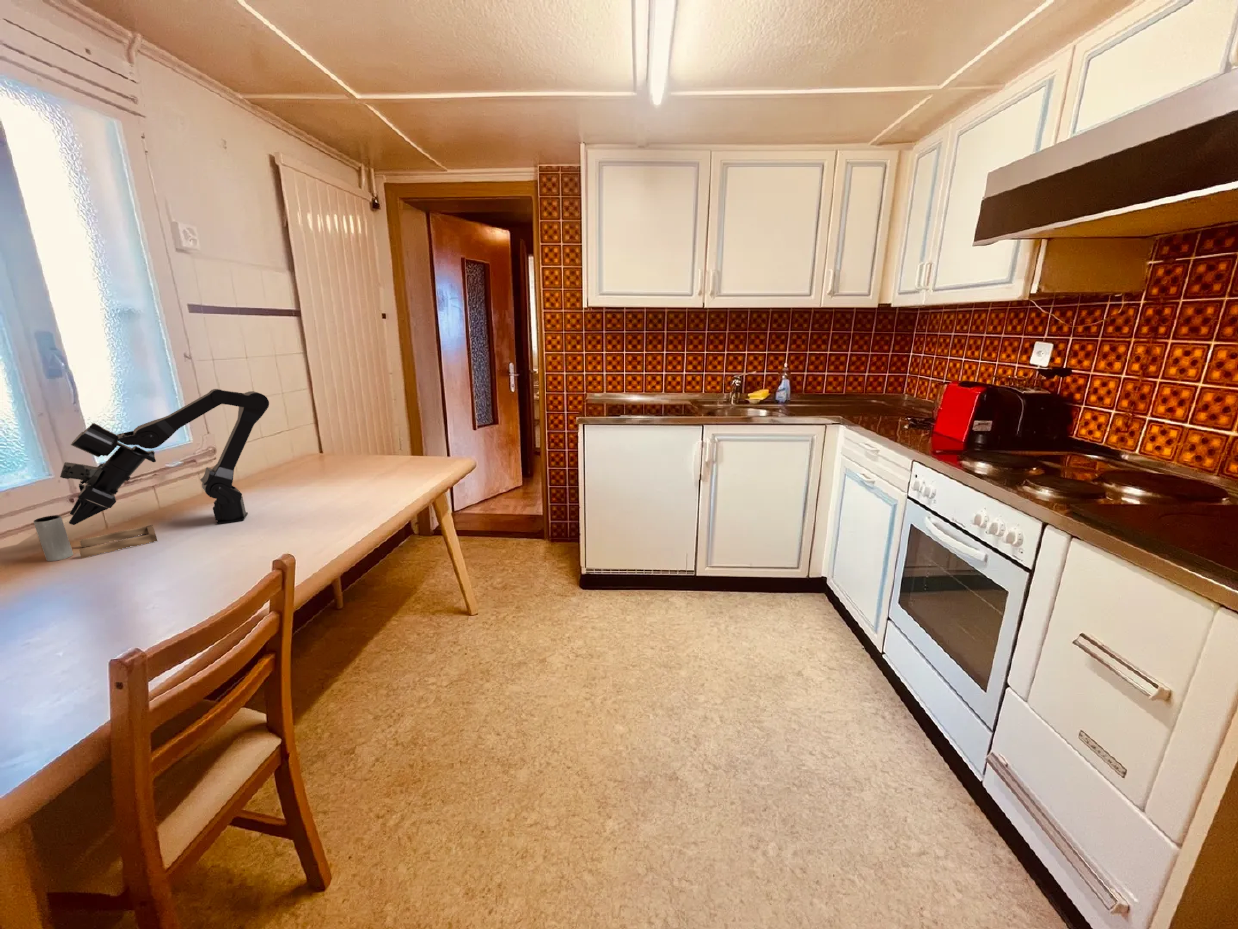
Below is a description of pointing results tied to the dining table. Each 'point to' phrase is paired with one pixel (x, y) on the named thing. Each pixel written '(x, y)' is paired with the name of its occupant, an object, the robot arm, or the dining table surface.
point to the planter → (53, 537)
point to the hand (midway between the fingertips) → (71, 519)
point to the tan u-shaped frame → (118, 544)
